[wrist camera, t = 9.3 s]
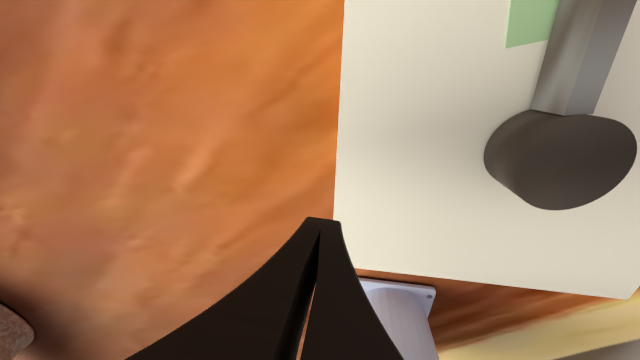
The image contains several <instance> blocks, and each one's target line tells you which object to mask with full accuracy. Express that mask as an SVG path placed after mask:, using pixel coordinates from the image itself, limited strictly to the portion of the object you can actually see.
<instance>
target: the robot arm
mask: <svg viewBox="0 0 640 360" xmlns="http://www.w3.org/2000/svg"><path fill="white" fill-rule="evenodd" d="M315 283H316V286H315ZM314 287H315V291H314ZM313 291H314V296H313V301H312V306H311V311H310V316H309V320H308V325H307V330H306V335H305V340H304V344H303V349H302V353H301V358H300V360H439V357H438V353H437V350H436V347H435V343H434V340H433V337H432V333H431V330H430V327H429V323H428V320H427V319H428V316H429V313H430V310H431V307H432V304H433V301H434V298H435V295H436V290H435V288H433V287H431V286H423V285H415V284H407V283H398V282H390V281H382V280H374V279H365V278H358V276H357V274H356V272H355V269H354V267H353V264H352V262H351V259H350V256H349V253H348V251H347V248H346V244H345V241H344V237H343V233H342V227H341V223H340V222H339V221H336V220H329V219H322V218H315V217H307V218H306V219H305V220H304V222H303V223H302V224H301V226H300V227H299V228H298V229H297V231H296V232H295V233H294V234H293V235H292V236H291V238H290V239H289V240H288V241H287V242H286V243H285V244H284V245H283V246H282V247H281V248H280V249H279V250H278V251H277V252H276V253H275V254H274V255H273V256H272V257H271V258H270V259H269V260H268V261H267V262H266V263H265V264H264V265H263V266H262V267H261V268H259V269H258V270H257V271H256V272H255V273H254V274H253V275H251V276H250V277H249V278H248V279H247V280H245V281H244V282H243V283H242V284H240V285H239V286H238V287H237V288H235V289H234V290H233V291H231V292H230V293H229V294H227V295H226V296H225V297H223V298H222V299H221V300H219V301H218V302H217V303H215V304H214V305H212V306H211V307H209V308H208V309H207V310H205V311H204V312H202V313H201V314H199V315H198V316H196V317H194V318H193V319H191V320H190V321H188V322H187V323H185V324H183V325H182V326H180V327H179V328H177V329H176V330H174V331H172V332H171V333H169V334H168V335H166V336H165V337H163V338H161V339H160V340H158V341H156V342H155V343H153V344H151V345H150V346H148V347H146V348H144V349H143V350H141V351H139V352H137V353H135V354H134V355H132V356H130V357H128V358H127V359H125V360H296V356H297V352H298V347H299V343H300V339H301V335H302V332H303V328H304V324H305V321H306V317H307V313H308V309H309V306H310V302H311V298H312V295H313Z"/></svg>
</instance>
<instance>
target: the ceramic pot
mask: <svg viewBox="0 0 640 360" xmlns="http://www.w3.org/2000/svg"><path fill="white" fill-rule="evenodd" d="M33 339H34V331H33V329H32V327H31V326H30V325H29V324H28V323H27V322H26V321H25V320H24V319H22V318H21V317H20V316H19V315H17V314H16V313H14V312H13V311H11V310H10V309H8V308H7V307H5V306H3V305H2V304H0V360H13V358H14V357H15V356H16V355H17V354H18V353H19V352H21V351H22V350H23V349H24V348H26V347H27V346H28V345H29V344H30V343H31V342H32V341H33Z"/></svg>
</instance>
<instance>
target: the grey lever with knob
mask: <svg viewBox="0 0 640 360" xmlns="http://www.w3.org/2000/svg"><path fill="white" fill-rule="evenodd" d="M636 2H637V0H560V1H559V4H558V8H557V12H556V15H555V19H554V22H553V26H552V30H551V33H550V37H549V41H548V44H547V48H546V52H545V55H544V59H543V62H542V66H541V70H540V73H539V77H538V81H537V84H536V88H535V92H534V95H533V99H532V102H531V106H530V110H526V111H524V112H521V113H519V114H516V115H514V116H513V117H511V118H509V119H508V120H506V121H505V122H504V123H502V124H501V125H500V126H499V127H498V128H497V129H496V130H495V131H494V133H493V134H492V135H491V137H490V138H489V140H488V142H487V144H486V147H485V150H484V165H485V168H486V170H487V171H488V173H489V174H490V175H491V176H492V177H493V178H494V179H496V180H497V181H498V182H500V183H501V184H502V185H504V186H505V187H506V188H508V189H509V190H510V191H512V192H513V193H514V194H516V195H517V196H518V197H520V198H521V199H522V200H524V201H525V202H526V203H528V204H530V205H531V206H534V207H536V208H540V209H544V210H555V211H556V210H567V209H572V208H577V207H580V206H583V205H586V204H588V203H591V202H593V201H595V200H597V199H599V198H601V197H602V196H604V195H606V194H607V193H608V192H610V191H611V190H613V189H614V188H615V187H616V186H617V185H618V184H619V183H620V182H621V181H622V180H623V179H624V178H625V177H626V175H627V174H628V173H629V171H630V169H631V168H632V166H633V164H634V161H635V158H636V154H637V141H636V138H635V136H634V134H633V133H632V131H631V130H630V129H629V128H628V127H627V126H626V125H624V124H623V123H621V122H619V121H617V120H614V119H610V118H605V117H599V116H593V115H588V114H593V113H594V110H595V107H596V105H597V102H598V100H599V97H600V95H601V92H602V89H603V87H604V84H605V82H606V79H607V77H608V74H609V71H610V69H611V66H612V64H613V61H614V59H615V56H616V53H617V51H618V48H619V46H620V43H621V41H622V38H623V35H624V33H625V30H626V28H627V25H628V23H629V20H630V17H631V15H632V12H633V10H634V7H635V5H636Z"/></svg>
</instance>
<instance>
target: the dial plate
mask: <svg viewBox="0 0 640 360" xmlns="http://www.w3.org/2000/svg"><path fill="white" fill-rule="evenodd" d="M559 1H560V0H345V6H344V25H343V44H342V64H341V83H340V102H339V121H338V140H337V159H336V178H335V197H334V216H333V220H336V221H339V222H340V223H341V227H342V233H343V237H344V241H345V244H346V248H347V251H348V253H349V256H350V259H351V262H352V264H353V267H354V268H360V269H369V270H377V271H386V272H394V273H403V274H411V275H420V276H428V277H437V278H445V279H454V280H462V281H471V282H479V283H488V284H497V285H505V286H514V287H522V288H531V289H539V290H548V291H556V292H565V293H573V294H582V295H590V296H599V297H607V298H616V299H624V300H628V299H629V297H630V296H631V295H632V294H633V293H634V292H635V291H636V290H637V288H638V287H639V286H640V0H637V2H636V5H635V7H634V10H633V12H632V15H631V17H630V20H629V23H628V25H627V28H626V30H625V33H624V35H623V38H622V41H621V43H620V46H619V48H618V51H617V53H616V56H615V59H614V61H613V64H612V66H611V69H610V71H609V74H608V77H607V79H606V82H605V84H604V87H603V89H602V92H601V95H600V97H599V100H598V102H597V105H596V107H595V110H594V113H593V114H588V115H593V116H599V117H605V118H610V119H614V120H617V121H619V122H621V123H623V124H624V125H626V126H627V127H628V128H629V129H630V130H631V131H632V133H633V134H634V136H635V138H636V141H637V154H636V158H635V161H634V164H633V166H632V168H631V169H630V171H629V173H628V174H627V175H626V177H625V178H624V179H623V180H622V181H621V182H620V183H619V184H618V185H617V186H616V187H615V188H614V189H613V190H611V191H610V192H608V193H607V194H606V195H604V196H602V197H601V198H599V199H597V200H595V201H593V202H591V203H588V204H586V205H583V206H580V207H577V208H572V209H567V210H556V211H555V210H544V209H540V208H536V207H534V206H531V205H530V204H528V203H526V202H525V201H524V200H522V199H521V198H520V197H518V196H517V195H516V194H514V193H513V192H512V191H510V190H509V189H508V188H506V187H505V186H504V185H502V184H501V183H500V182H498V181H497V180H496V179H494V178H493V177H492V176H491V175H490V174H489V173H488V171H487V170H486V168H485V165H484V150H485V147H486V144H487V142H488V140H489V138H490V137H491V135H492V134H493V133H494V131H495V130H496V129H497V128H498V127H499V126H500V125H501V124H502V123H504V122H505V121H506V120H508V119H509V118H511V117H513V116H514V115H516V114H519V113H521V112H524V111H526V110H530V106H531V102H532V99H533V95H534V92H535V88H536V84H537V81H538V77H539V73H540V70H541V66H542V62H543V59H544V55H545V52H546V48H547V44H548V41H549V37H550V33H551V30H552V26H553V22H554V19H555V15H556V12H557V8H558V4H559Z"/></svg>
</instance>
